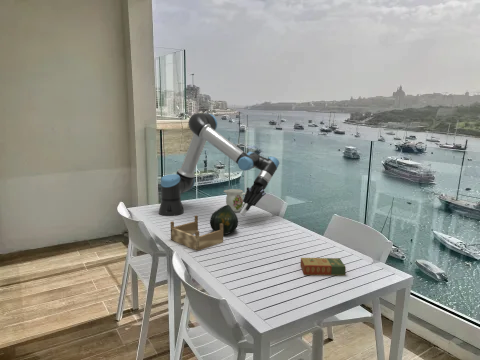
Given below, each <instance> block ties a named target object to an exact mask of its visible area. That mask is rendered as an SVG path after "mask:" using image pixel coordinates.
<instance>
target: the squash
mask: <svg viewBox="0 0 480 360" xmlns="http://www.w3.org/2000/svg"><path fill="white" fill-rule="evenodd" d="M221 223H222V224H223V235H229V234H230V233H233V232H235V231H236V230H237V228H238V226H239V220H238V216H237V214H236V212H234V211H233V210H232V209H231V207H230V206H229V205H227V204H225V205H224V206H221V207H220V208H218V209H217V210H215V211H214V212H213V213H212V215H211V216H210V220H209V225H210V229H211V230H213V232H215V231H218V230H220V224H221Z"/></svg>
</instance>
